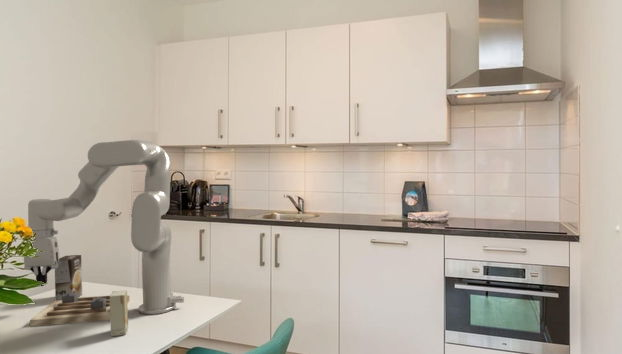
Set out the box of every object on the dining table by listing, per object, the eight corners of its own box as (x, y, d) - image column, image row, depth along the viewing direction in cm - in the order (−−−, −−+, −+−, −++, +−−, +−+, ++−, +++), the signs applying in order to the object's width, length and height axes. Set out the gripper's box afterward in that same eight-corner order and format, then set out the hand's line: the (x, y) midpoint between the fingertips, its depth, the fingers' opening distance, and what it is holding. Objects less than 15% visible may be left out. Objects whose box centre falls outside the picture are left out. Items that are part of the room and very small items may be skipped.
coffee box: (72, 301, 163) (71, 259, 163) (55, 302, 163) (53, 260, 162) (82, 294, 172) (81, 254, 172) (66, 295, 172) (64, 255, 171)
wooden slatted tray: (129, 300, 163) (129, 292, 163) (115, 319, 143) (115, 310, 143) (54, 306, 158) (54, 298, 158) (30, 326, 139) (29, 317, 138)
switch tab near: (106, 306, 150) (105, 296, 150) (103, 309, 147) (102, 299, 146) (93, 307, 149) (93, 296, 149) (90, 310, 146) (90, 300, 146)
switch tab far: (77, 300, 157) (77, 291, 157) (74, 304, 153) (74, 294, 153) (66, 301, 156) (65, 291, 156) (62, 304, 152) (61, 294, 152)
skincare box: (126, 335, 130) (124, 295, 130) (110, 337, 129) (109, 296, 128) (128, 327, 136) (127, 289, 136) (113, 329, 135) (112, 290, 135)
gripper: (67, 231, 157) (68, 281, 158) (22, 232, 154) (23, 283, 155) (60, 235, 150) (60, 287, 150) (12, 236, 147) (13, 289, 148)
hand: (41, 285), depth 153 cm, fingers closed
